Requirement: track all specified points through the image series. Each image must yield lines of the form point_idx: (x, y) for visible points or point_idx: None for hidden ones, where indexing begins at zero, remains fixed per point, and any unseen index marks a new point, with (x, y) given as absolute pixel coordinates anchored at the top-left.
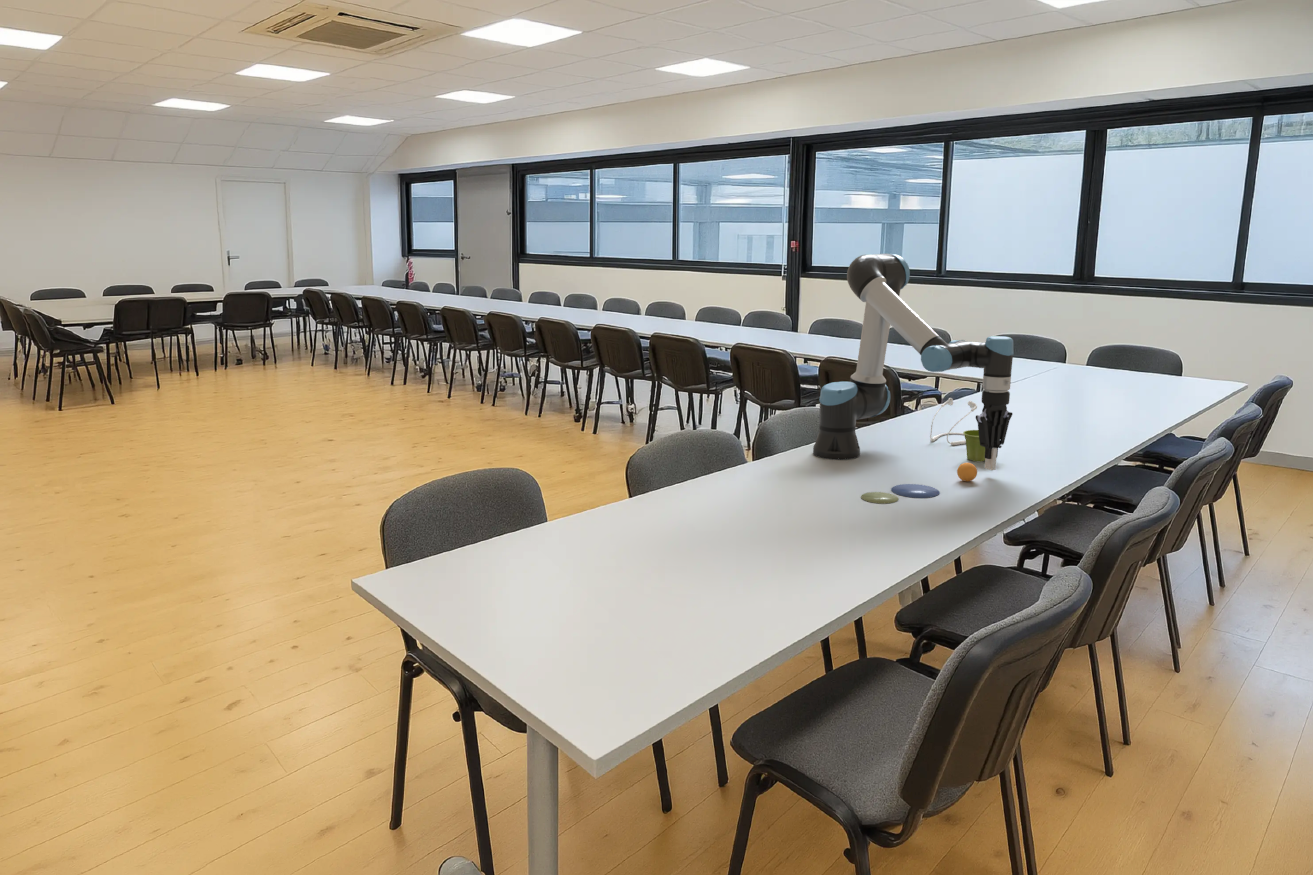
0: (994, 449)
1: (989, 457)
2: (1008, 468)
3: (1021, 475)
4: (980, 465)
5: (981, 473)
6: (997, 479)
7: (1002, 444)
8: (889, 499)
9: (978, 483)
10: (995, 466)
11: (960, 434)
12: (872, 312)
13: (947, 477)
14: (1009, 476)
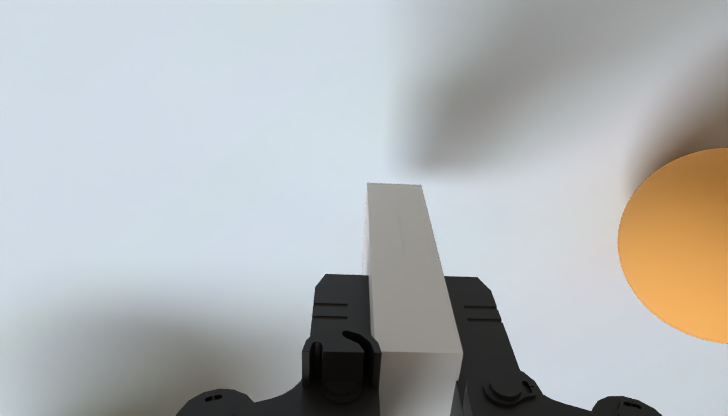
0: (438, 342)
1: (470, 289)
2: (25, 266)
3: (75, 54)
4: (178, 409)
5: None
6: (406, 89)
7: (223, 392)
8: None
9: (672, 97)
10: (370, 199)
11: None
12: None
13: (669, 333)
14: (217, 96)
